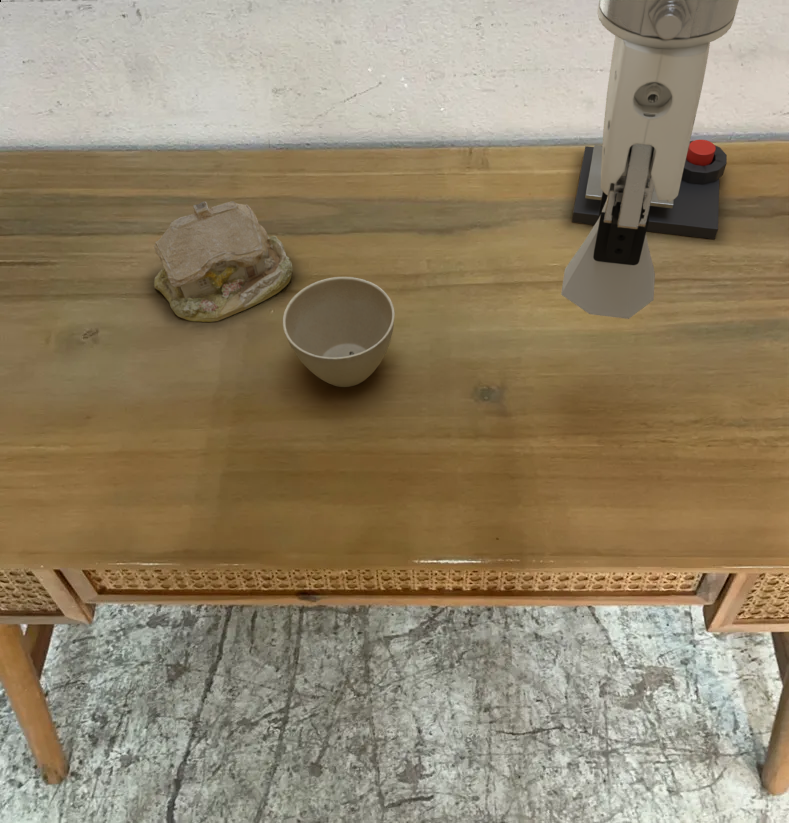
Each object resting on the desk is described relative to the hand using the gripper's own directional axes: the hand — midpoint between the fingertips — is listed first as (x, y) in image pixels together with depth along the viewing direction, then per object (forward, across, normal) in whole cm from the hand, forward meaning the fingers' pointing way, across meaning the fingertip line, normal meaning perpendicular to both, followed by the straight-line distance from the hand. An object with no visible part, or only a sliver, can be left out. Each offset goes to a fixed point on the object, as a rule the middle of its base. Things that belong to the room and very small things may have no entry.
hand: (617, 240), depth 61 cm
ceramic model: (+19, +9, +38) cm, 44 cm away
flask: (+5, 0, 0) cm, 5 cm away
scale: (+19, +30, -4) cm, 36 cm away
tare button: (+16, +34, -9) cm, 39 cm away
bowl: (+19, 0, +22) cm, 30 cm away
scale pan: (+16, +29, -2) cm, 34 cm away
